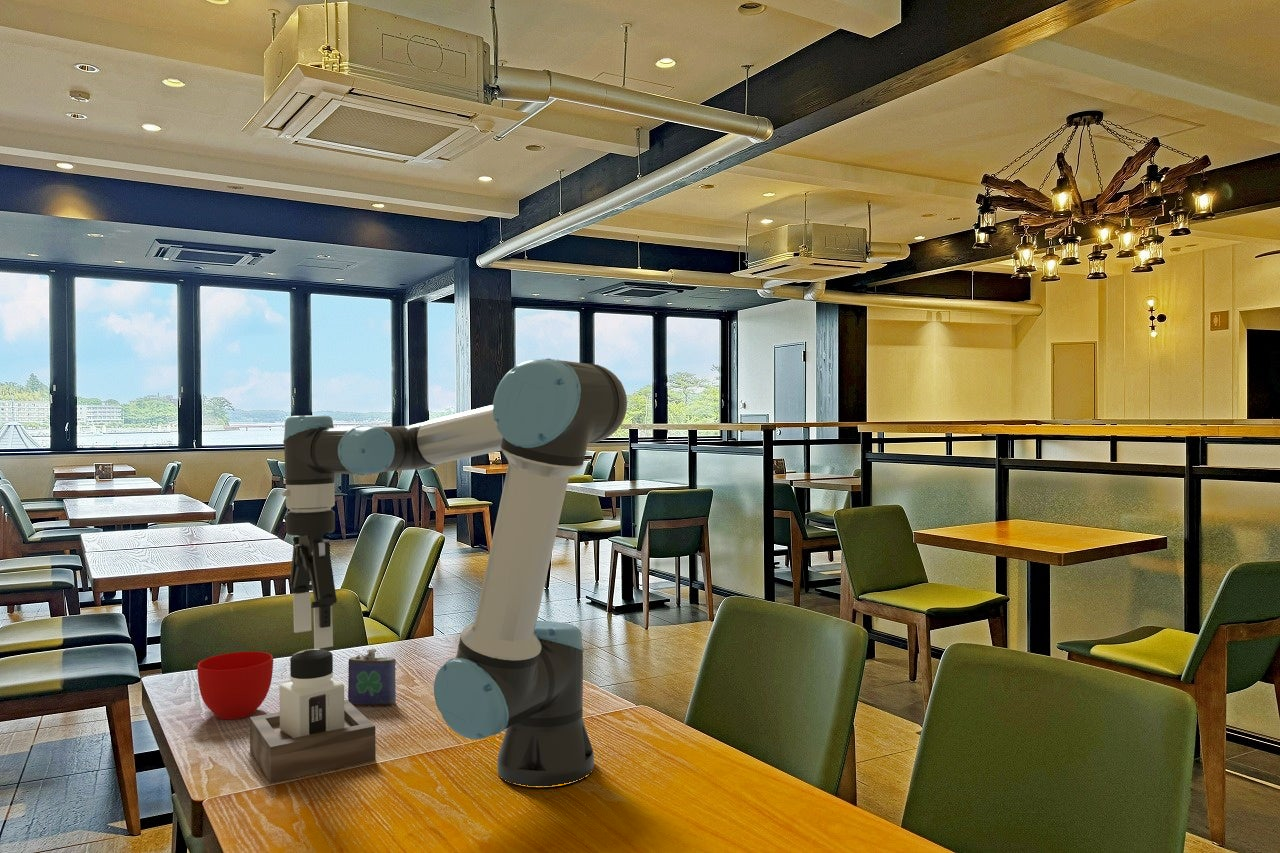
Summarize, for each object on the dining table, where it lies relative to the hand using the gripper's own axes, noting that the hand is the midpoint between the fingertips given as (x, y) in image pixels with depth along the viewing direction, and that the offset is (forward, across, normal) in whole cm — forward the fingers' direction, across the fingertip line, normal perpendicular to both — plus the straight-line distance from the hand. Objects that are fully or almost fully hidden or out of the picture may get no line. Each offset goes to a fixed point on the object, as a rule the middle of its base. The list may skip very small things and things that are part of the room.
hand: (312, 639), depth 144 cm
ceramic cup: (+19, -32, -7) cm, 37 cm away
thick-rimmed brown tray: (+19, -1, 0) cm, 19 cm away
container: (+15, -1, 0) cm, 15 cm away
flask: (+19, -21, +16) cm, 32 cm away
